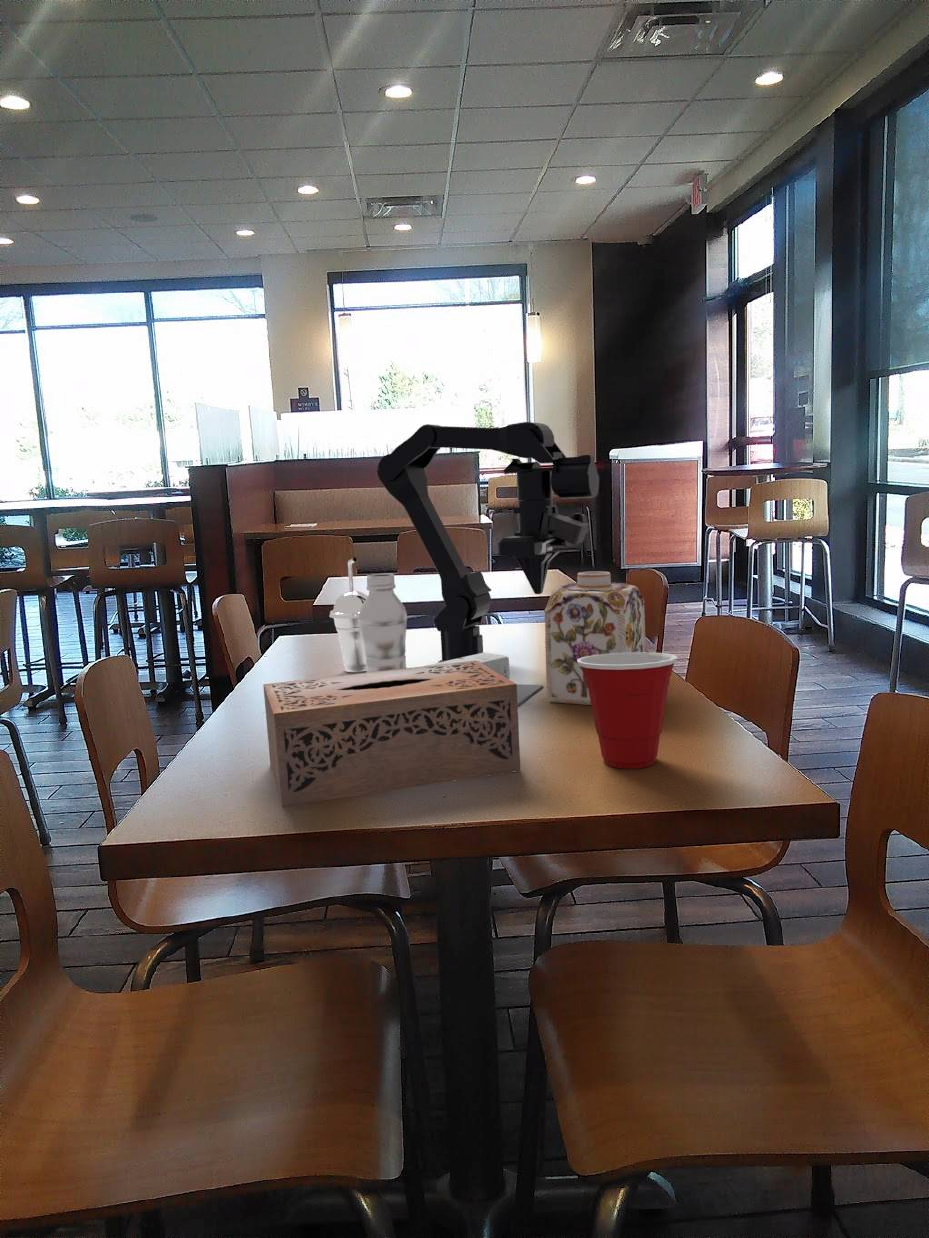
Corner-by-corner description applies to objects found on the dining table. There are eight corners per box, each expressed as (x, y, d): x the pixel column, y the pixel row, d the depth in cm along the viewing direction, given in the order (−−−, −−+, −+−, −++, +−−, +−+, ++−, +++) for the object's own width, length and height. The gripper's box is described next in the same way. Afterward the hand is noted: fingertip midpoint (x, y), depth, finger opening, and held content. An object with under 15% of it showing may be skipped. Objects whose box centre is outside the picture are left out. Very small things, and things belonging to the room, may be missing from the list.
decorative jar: (545, 703, 126) (540, 576, 123) (571, 684, 136) (567, 567, 133) (628, 708, 120) (624, 576, 118) (649, 688, 131) (646, 567, 128)
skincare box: (509, 655, 137) (448, 667, 129) (510, 683, 138) (449, 697, 130) (483, 651, 142) (422, 663, 134) (484, 679, 142) (424, 692, 135)
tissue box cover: (480, 738, 111) (476, 660, 109) (520, 773, 97) (516, 684, 96) (270, 767, 104) (263, 684, 102) (282, 809, 90) (273, 713, 88)
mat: (433, 706, 127) (433, 704, 127) (470, 683, 140) (470, 682, 140) (512, 710, 122) (512, 708, 122) (543, 687, 135) (543, 685, 135)
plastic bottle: (421, 717, 121) (413, 571, 118) (402, 731, 115) (392, 578, 112) (378, 715, 123) (369, 572, 120) (357, 729, 117) (346, 578, 114)
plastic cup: (661, 742, 104) (660, 642, 103) (692, 772, 94) (691, 661, 92) (570, 749, 104) (567, 648, 102) (591, 780, 93) (588, 668, 91)
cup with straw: (387, 664, 159) (380, 552, 156) (373, 675, 150) (365, 557, 147) (342, 664, 160) (333, 554, 157) (325, 675, 151) (316, 559, 148)
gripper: (562, 500, 135) (565, 602, 137) (599, 496, 151) (601, 587, 153) (494, 503, 139) (499, 601, 142) (538, 498, 156) (541, 586, 158)
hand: (538, 593), depth 149 cm, fingers closed
